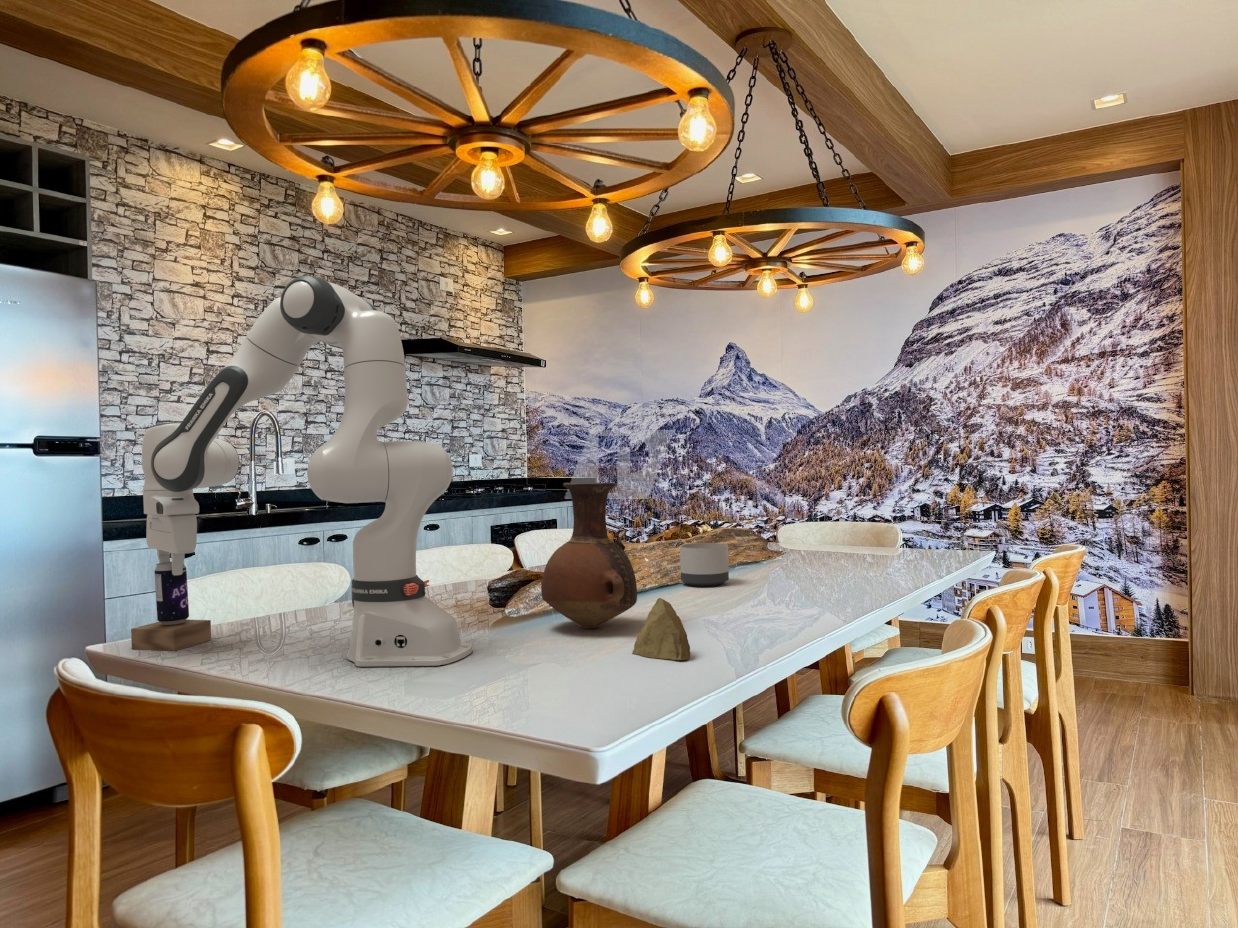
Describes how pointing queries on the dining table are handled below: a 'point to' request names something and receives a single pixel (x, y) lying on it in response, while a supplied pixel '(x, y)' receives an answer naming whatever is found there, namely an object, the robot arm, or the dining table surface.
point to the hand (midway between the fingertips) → (171, 573)
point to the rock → (662, 634)
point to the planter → (704, 564)
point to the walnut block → (170, 635)
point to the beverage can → (171, 595)
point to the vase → (589, 564)
